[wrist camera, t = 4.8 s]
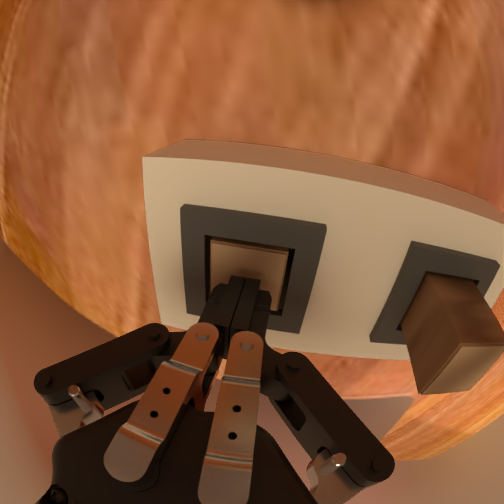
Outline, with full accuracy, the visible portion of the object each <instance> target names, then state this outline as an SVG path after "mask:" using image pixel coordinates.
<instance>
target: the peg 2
mask: <svg viewBox="0 0 504 504" xmlns="http://www.w3.org/2000/svg"><path fill="white" fill-rule="evenodd" d="M400 325H401V328H402V332H403V335H404V338H405V342H406V345H407V349H408V353H409V357H410V360H411V364H412V368H413V372H414V377H415V381H416V385H417V390H418V394H420V393H421V395H427V394H441V393H451V392H460V391H468V390H470V389H471V388H472V387H473V386H474V385H475V384H476V383H477V382H478V381H479V380H480V379H481V378H482V377H483V375H484V374H485V373H486V372H487V371H488V370H489V369H490V368H491V366H492V365H493V364H494V363H495V362H496V361H497V359H498V358H499V357H500V356H501V354H502V353H503V352H504V331H503V329H502V327H501V326H500V324H499V322H498V320H497V318H496V317H495V315H494V313H493V312H492V310H491V308H490V307H489V305H488V303H487V302H486V300H485V299H484V297H483V295H482V294H481V292H480V291H479V289H478V288H477V286H476V285H475V283H474V282H473V280H472V279H469V278H464V277H458V276H453V275H447V274H441V273H436V272H430V271H425V274H424V276H423V278H422V280H421V282H420V284H419V287H418V289H417V291H416V293H415V295H414V297H413V299H412V301H411V303H410V304H409V306H408V308H407V310H406V312H405V314H404V316H403V318H402V319H401V321H400Z"/></svg>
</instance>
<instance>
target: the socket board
mask: <svg viewBox="0 0 504 504" xmlns="http://www.w3.org/2000/svg"><path fill="white" fill-rule="evenodd" d="M142 160H143V182H144V197H145V210H146V221H147V231H148V240H149V248H150V256H151V263H152V270H153V277H154V283H155V290H156V296H157V301H158V307H159V312H160V317H161V323H162V324H164V325H168V326H172V327H176V328H180V329H184V330H188V329H189V328H190V327H191V326H192V325H194V324H196V323H198V320H199V318H200V316H201V314H202V312H203V309H204V307H205V305H206V303H207V301H208V298H209V297H210V294H211V287H210V241H211V238H212V237H213V236H216V237H223V238H229V239H236V240H242V241H248V242H255V243H261V244H268V245H274V246H280V247H287V248H293V249H294V251H293V256H292V261H288V260H287V264H286V269H285V275H284V280H283V285H282V291H281V296H280V301H279V306H278V311H273V310H270V314H269V320H268V325H267V331H266V336H265V340H266V343H267V344H268V346H269V347H275V348H281V349H288V350H295V351H302V352H310V353H318V354H327V355H336V356H347V357H359V358H372V359H390V360H410V357H409V353H408V349H407V345H406V342H405V338H404V335H403V332H402V328H401V325H400V321H401V319H402V318H403V316H404V314H405V312H406V310H407V308H408V306H409V304H410V303H411V301H412V299H413V297H414V295H415V293H416V291H417V289H418V287H419V284H420V282H421V280H422V278H423V276H424V274H425V271H430V272H436V273H441V274H447V275H453V276H458V277H464V278H469V279H472V280H473V282H474V283H475V285H476V286H477V288H478V289H479V291H480V292H481V294H482V295H483V297H484V299H485V300H486V302H487V303H488V305H489V307H490V308H492V307H493V305H494V303H495V302H496V300H497V298H498V297H499V295H500V293H501V291H502V290H503V288H504V213H502V212H501V211H500V210H499V209H497V208H496V207H495V206H493V205H492V204H491V203H489V202H488V201H487V200H484V199H482V198H479V197H477V196H474V195H472V194H469V193H466V192H463V191H461V190H458V189H455V188H452V187H449V186H446V185H443V184H440V183H437V182H434V181H431V180H428V179H425V178H421V177H418V176H415V175H411V174H408V173H404V172H400V171H397V170H393V169H389V168H385V167H381V166H377V165H373V164H369V163H365V162H360V161H356V160H351V159H346V158H341V157H336V156H331V155H326V154H320V153H315V152H309V151H302V150H296V149H289V148H282V147H275V146H267V145H258V144H249V143H238V142H227V141H213V140H194V139H185V140H182V141H180V142H177V143H175V144H172V145H169V146H167V147H164V148H162V149H160V150H157V151H155V152H152V153H150V154H148V155H145V156H143V157H142Z"/></svg>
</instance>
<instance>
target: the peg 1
mask: <svg viewBox="0 0 504 504" xmlns="http://www.w3.org/2000/svg"><path fill="white" fill-rule="evenodd" d="M288 253H289V248H287V247H280V246H274V245H268V244H261V243H255V242H248V241H242V240H236V239H229V238H223V237H216V236H213V237H212V238H211V241H210V287H211V292H212V290H213V288H214V287H215V286H217V285H218V284H219V283H224V284H228V282H229V280H230V277H231V275H236V276H241V277H246V278H247V277H248V278H253V279H259V280H261V284H260V290H265V291H269V292H270V295H271V297H272V302H271V308H270V310H273V311H278V306H279V301H280V296H281V291H282V285H283V280H284V275H285V269H286V264H287V259H288Z"/></svg>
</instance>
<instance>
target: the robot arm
mask: <svg viewBox="0 0 504 504" xmlns="http://www.w3.org/2000/svg"><path fill="white" fill-rule="evenodd" d="M260 284H261V280H259V279H253V278H248V277H247V278H246V277H241V276H236V275H231V277H230V280H229V282H228V284H224V283H219V284H218V285H217V286H215V287H214V288H213V290H212V292H211V294H210V297H209V298H208V301H207V303H206V305H205V307H204V309H203V312H202V314H201V316H200V318H199V320H198V323H196V324H194V325H192V326H191V327H190V328H189V329H188V331H184V332H169V331H168V329H167V328H166V327H165V326H164V325H162V324H159V323H151V324H148V325H145V326H143V327H141V328H138V329H136V330H134V331H132V332H129V333H127V334H125V335H123V336H120V337H118V338H116V339H113V340H111V341H109V342H106V343H104V344H102V345H99V346H97V347H95V348H93V349H90V350H88V351H85V352H83V353H81V354H79V355H76V356H74V357H71V358H69V359H67V360H64V361H62V362H59V363H57V364H54V365H52V366H49V367H47V368H45V369H42V370H41V371H39V372H38V373H37V375H36V376H35V379H34V387H35V389H36V390H37V392H38V393H39V394H40V395H41V396H42V397H43V399H44V400H45V402H46V403H47V404H48V405H49V408H50V411H51V414H52V417H53V420H54V422H55V425H56V428H57V431H58V433H59V436H60V439H59V440H58V441H57V443H56V444H55V446H54V449H53V453H52V465H53V474H52V483H51V486H50V488H49V489H48V491H47V492H46V493H45V495H43V496H42V497H41V498H40V499H39V500H38V501H37V502H36V503H35V504H344V503H345V502H347V501H348V500H350V499H351V498H352V497H354V496H355V495H356V494H357V493H359V492H360V491H361V490H363V489H365V488H368V487H370V486H372V485H375V484H377V483H379V482H382V481H384V480H386V479H387V478H388V477H390V475H391V474H392V473H393V470H394V467H395V463H394V458H393V456H392V455H391V454H390V453H389V452H388V450H387V449H386V448H385V447H384V446H383V445H382V444H381V443H380V442H379V440H378V439H377V438H376V437H375V436H374V435H373V434H372V433H371V431H370V430H369V429H368V428H367V427H366V426H365V425H364V424H363V422H362V421H361V420H360V419H359V418H358V417H357V416H356V414H355V413H354V412H353V411H352V410H351V409H350V408H349V406H348V405H347V404H346V403H345V402H344V401H343V399H342V398H341V397H340V396H339V395H338V394H337V392H336V391H335V390H334V389H333V388H332V387H331V385H330V384H329V383H328V382H327V381H326V380H325V378H324V377H323V376H322V375H321V374H320V372H319V371H318V370H317V369H316V368H315V367H314V365H313V364H312V363H311V362H310V361H309V359H308V358H307V357H306V356H304V355H303V354H301V353H298V352H287V353H284V354H280V353H278V352H276V351H274V350H273V349H271V348H270V347H269V346H268V344H267V343H266V340H265V336H266V331H267V325H268V320H269V314H270V308H271V302H272V297H271V295H270V292H269V291H265V290H260ZM222 359H227V362H226V367H225V372H224V376H223V377H222V380H221V384H220V388H219V393H218V398H217V403H216V408H215V412H204V409H205V404H206V401H207V398H208V396H209V394H210V391H211V389H212V387H213V384H214V382H215V380H216V377H217V375H218V372H219V367H220V364H221V361H222ZM143 392H144V394H143V396H142V397H141V399H140V400H138V401H135V402H132V403H130V404H128V405H126V406H124V407H122V408H121V409H119V410H117V411H115V412H113V413H111V414H109V415H107V416H105V417H103V415H104V411H105V410H107V409H109V408H112V407H114V406H116V405H118V404H120V403H122V402H125V401H127V400H129V399H131V398H133V397H135V396H137V395H139V394H141V393H143ZM260 393H262V394H264V395H266V396H268V397H269V400H270V402H271V403H272V405H273V406H274V408H275V409H276V411H277V412H278V413H279V415H280V416H281V418H282V419H283V421H284V422H285V423H286V425H287V426H288V428H289V429H290V430H291V432H292V433H293V435H294V436H295V437H296V439H297V440H298V441H299V443H300V444H301V445H302V447H303V448H304V449H305V451H306V452H307V453H308V455H309V456H310V457H311V459H312V460H311V461H310V462H309V464H308V466H307V470H306V472H307V476H308V478H309V480H310V483H311V488H310V491H309V490H308V489H307V487H306V486H305V484H304V483H303V482H302V480H301V479H300V477H299V476H298V474H297V473H296V471H295V470H294V468H293V467H292V466H291V464H290V462H289V461H288V459H287V458H286V456H285V455H284V453H283V452H282V450H281V448H280V447H279V445H278V444H277V442H276V441H275V439H274V438H273V437H272V436H271V435H270V434H269V433H268V432H267V431H266V430H265V429H263V428H262V427H260V426H258V425H257V415H258V404H259V395H260Z"/></svg>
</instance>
